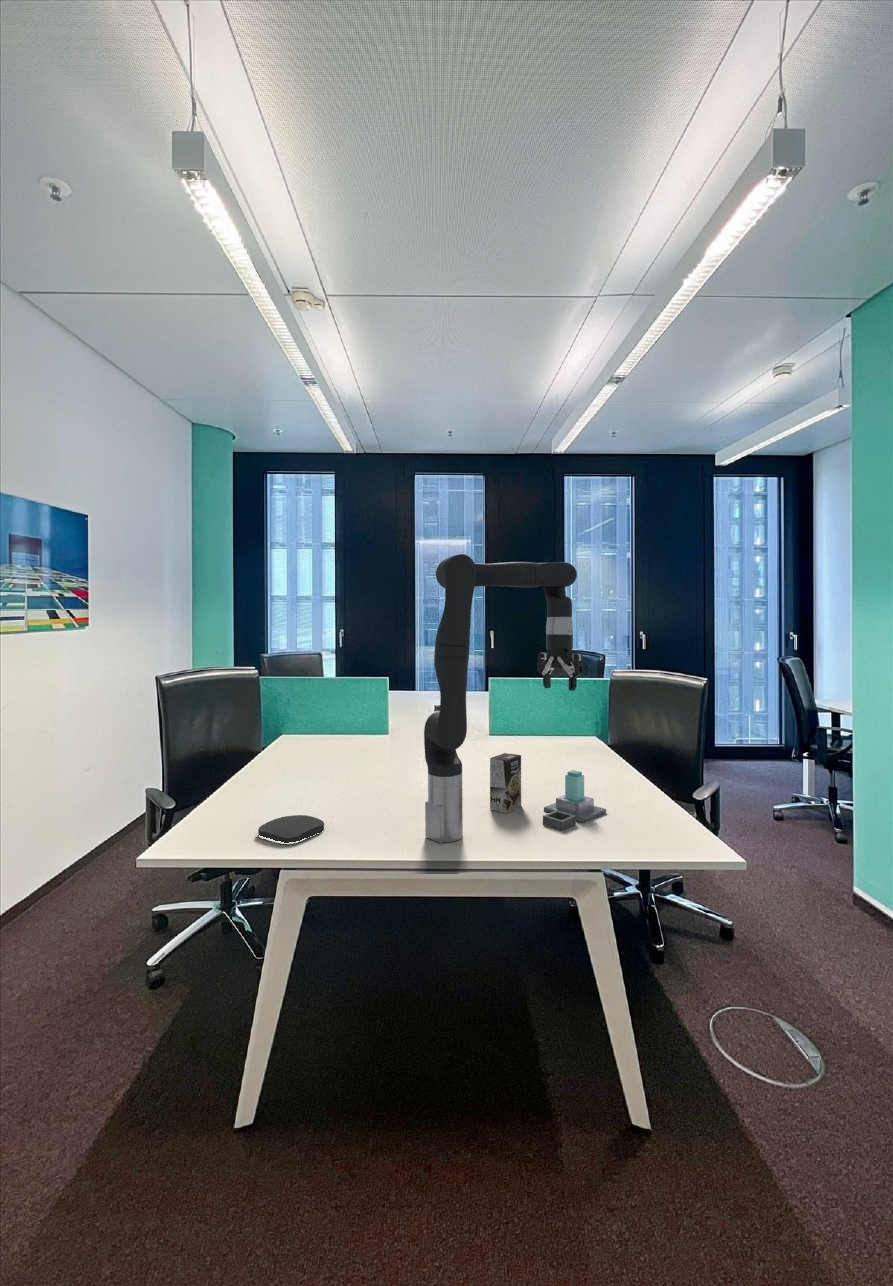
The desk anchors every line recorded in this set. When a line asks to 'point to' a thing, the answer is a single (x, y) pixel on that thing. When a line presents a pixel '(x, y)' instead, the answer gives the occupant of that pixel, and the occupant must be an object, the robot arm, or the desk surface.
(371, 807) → the desk surface
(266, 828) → the media streaming box
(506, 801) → the coffee box
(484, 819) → the desk surface
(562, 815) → the dark grey square tray
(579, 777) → the plug
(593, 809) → the grey stepped base
